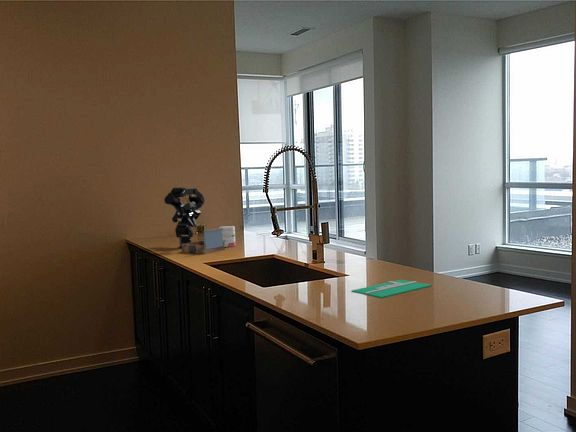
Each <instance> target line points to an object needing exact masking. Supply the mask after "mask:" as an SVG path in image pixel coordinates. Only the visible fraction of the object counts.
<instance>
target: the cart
mask: <svg viewBox="0 0 576 432" xmlns="http://www.w3.org/2000/svg"><path fill="white" fill-rule="evenodd" d="M180 250H181V253H189V254H199V255H200V254H202V255H206V254H212V253H215V252H220V251H221V252H222V251H225V247H224V242H223V246H222V247H217V248H212V249H207V250H206V246H205V245H204V240H196V241H191V242H190V243H185V244H181V248H180Z"/></svg>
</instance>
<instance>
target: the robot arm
mask: <svg viewBox="0 0 576 432" xmlns="http://www.w3.org/2000/svg"><path fill="white" fill-rule="evenodd" d="M186 196H188V197H187V199H188V201H189V202H186V203H185V204H184V202H183V200H182V199H181V198H185V197H186ZM163 200H164V204H166V205H168V206H170V207H173V208H174V210H175V213H174V215H173V216H172V217H171V221H172V222H173V223H177V224H176V227H175V229H174V230H175V231H174V232H175V235H176V238H179V246H177V248H179V249H181V244H185V243H190V242H192V239H191V238H193V237H194V232H193V231H192V228H197V222H196V221H197V220H198V218H199V217H200V215H201V214H202V211H200V209H201V208H202V207H203V206H204V205H205V197H204V195H203V194H202V193H201V192H200V191H199V190H198V189H197V188H196V187H189V188H186V187H184V186H183V187H182V186H181V187H179V186H177V187H176V186H175V187H172V189H171V190H170V192H168V193H167V195H166V196H165V197H164V199H163ZM178 219H179V220H178Z"/></svg>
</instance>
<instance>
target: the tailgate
mask: <svg viewBox="0 0 576 432" xmlns="http://www.w3.org/2000/svg"><path fill="white" fill-rule="evenodd" d="M202 232H203V241H204V245H205V246H206V250H207V249H212V248H217V247H222V246H223V235H222V228H212V229H207V230H203V231H202Z"/></svg>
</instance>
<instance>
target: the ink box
mask: <svg viewBox="0 0 576 432" xmlns="http://www.w3.org/2000/svg"><path fill="white" fill-rule="evenodd" d="M235 227H236V226H232V225H231V226H229V225H228V226H224V225H223V226H219V228H222V235H223V242H224V248H230V247H231V248H232V247H235V246H236V228H235ZM219 228H218V229H219Z"/></svg>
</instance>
